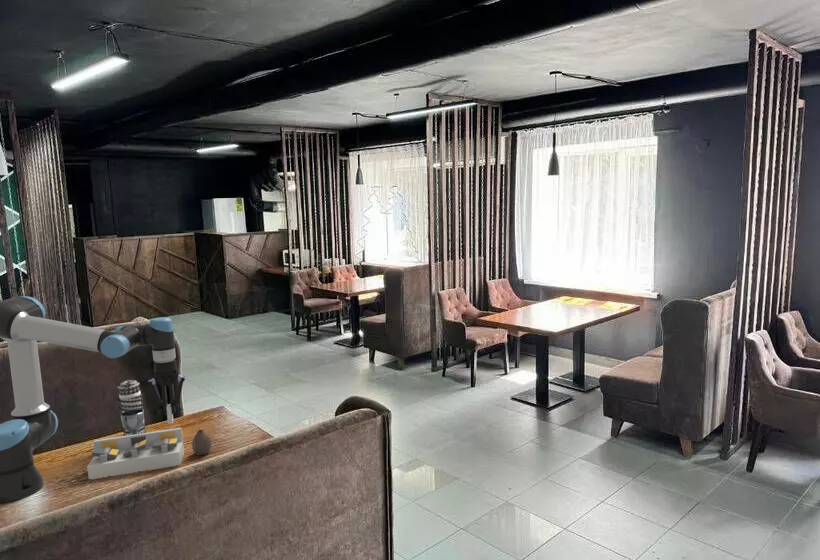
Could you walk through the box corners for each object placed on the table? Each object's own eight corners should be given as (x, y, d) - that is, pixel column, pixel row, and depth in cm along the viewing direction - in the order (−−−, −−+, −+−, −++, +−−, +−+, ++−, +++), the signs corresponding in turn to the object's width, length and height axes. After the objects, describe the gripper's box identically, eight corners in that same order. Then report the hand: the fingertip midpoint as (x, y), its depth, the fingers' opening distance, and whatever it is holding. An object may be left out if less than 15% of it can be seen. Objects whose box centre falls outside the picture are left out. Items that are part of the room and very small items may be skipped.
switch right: (152, 450, 202) (152, 444, 202) (155, 444, 207) (154, 439, 207) (176, 447, 204) (176, 442, 204) (178, 442, 209) (178, 437, 209)
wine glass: (138, 453, 216) (134, 416, 214) (120, 452, 217) (115, 415, 215) (152, 444, 223) (147, 408, 221) (134, 444, 225) (130, 408, 223)
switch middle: (124, 458, 200) (122, 453, 200) (128, 452, 205) (125, 448, 204) (146, 448, 202) (144, 443, 201) (149, 442, 206) (146, 438, 206)
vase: (196, 458, 208) (194, 436, 207) (190, 453, 213) (188, 431, 212) (215, 452, 212) (212, 430, 211) (208, 447, 217) (206, 425, 216)
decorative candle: (131, 447, 222) (124, 386, 219) (118, 443, 227) (110, 383, 224) (152, 438, 230) (145, 379, 227) (139, 434, 235) (132, 377, 231)
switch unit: (88, 480, 195) (85, 452, 194) (97, 466, 206) (94, 440, 205) (180, 465, 203) (177, 438, 202) (184, 452, 214) (181, 427, 212)
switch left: (91, 456, 197) (92, 451, 197) (94, 450, 202) (96, 445, 202) (115, 460, 199) (116, 454, 199) (118, 454, 204) (120, 449, 204)
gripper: (143, 364, 197) (149, 428, 200) (182, 360, 201) (188, 423, 203) (147, 359, 204) (153, 421, 207) (185, 355, 208) (190, 416, 211)
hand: (170, 422), depth 205 cm, fingers closed
